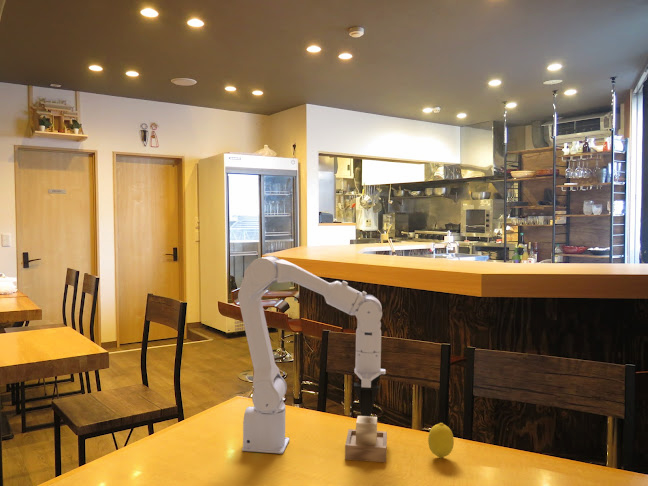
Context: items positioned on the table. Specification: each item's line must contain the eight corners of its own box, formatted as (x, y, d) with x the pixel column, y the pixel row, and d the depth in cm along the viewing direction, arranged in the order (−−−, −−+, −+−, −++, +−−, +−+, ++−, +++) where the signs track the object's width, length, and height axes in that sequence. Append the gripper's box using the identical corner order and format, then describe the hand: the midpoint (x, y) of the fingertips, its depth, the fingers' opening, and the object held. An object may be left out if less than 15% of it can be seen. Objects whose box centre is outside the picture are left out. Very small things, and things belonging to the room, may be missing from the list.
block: (355, 445, 117) (356, 423, 117) (357, 436, 122) (357, 415, 121) (375, 446, 117) (376, 424, 116) (376, 438, 121) (377, 417, 121)
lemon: (453, 465, 113) (454, 428, 113) (427, 462, 114) (428, 426, 114) (452, 454, 119) (453, 419, 118) (427, 451, 120) (428, 417, 120)
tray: (344, 459, 115) (345, 445, 115) (348, 442, 124) (348, 429, 124) (386, 462, 114) (386, 447, 114) (386, 445, 123) (386, 431, 123)
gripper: (385, 359, 111) (384, 422, 111) (386, 343, 125) (385, 399, 125) (352, 357, 112) (351, 420, 112) (357, 342, 126) (356, 398, 126)
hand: (367, 409), depth 119 cm, fingers open, 7 cm apart
